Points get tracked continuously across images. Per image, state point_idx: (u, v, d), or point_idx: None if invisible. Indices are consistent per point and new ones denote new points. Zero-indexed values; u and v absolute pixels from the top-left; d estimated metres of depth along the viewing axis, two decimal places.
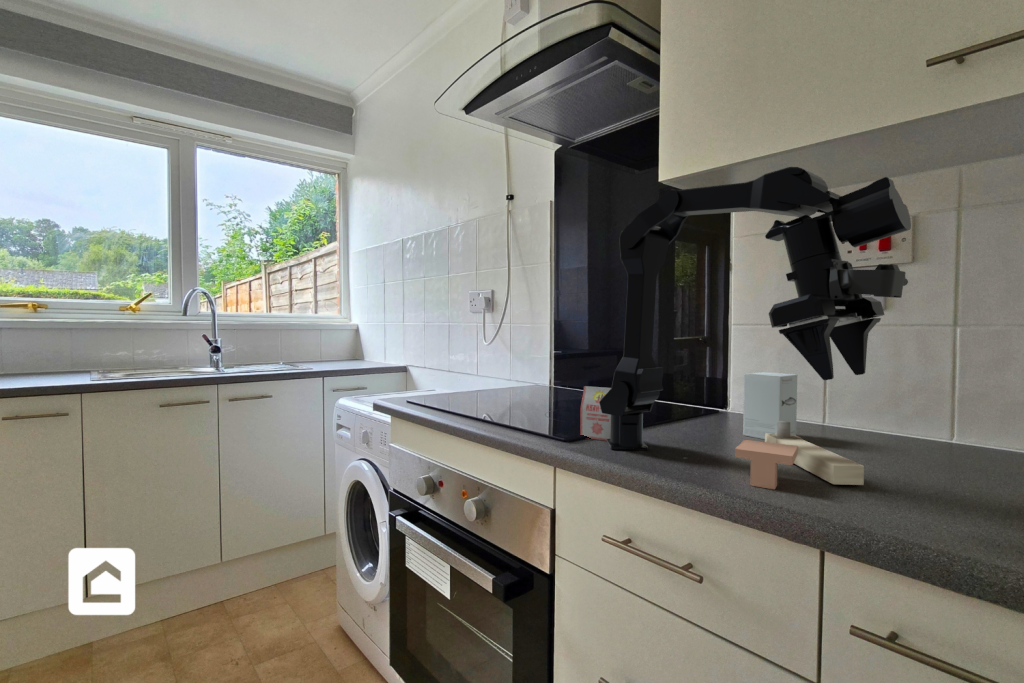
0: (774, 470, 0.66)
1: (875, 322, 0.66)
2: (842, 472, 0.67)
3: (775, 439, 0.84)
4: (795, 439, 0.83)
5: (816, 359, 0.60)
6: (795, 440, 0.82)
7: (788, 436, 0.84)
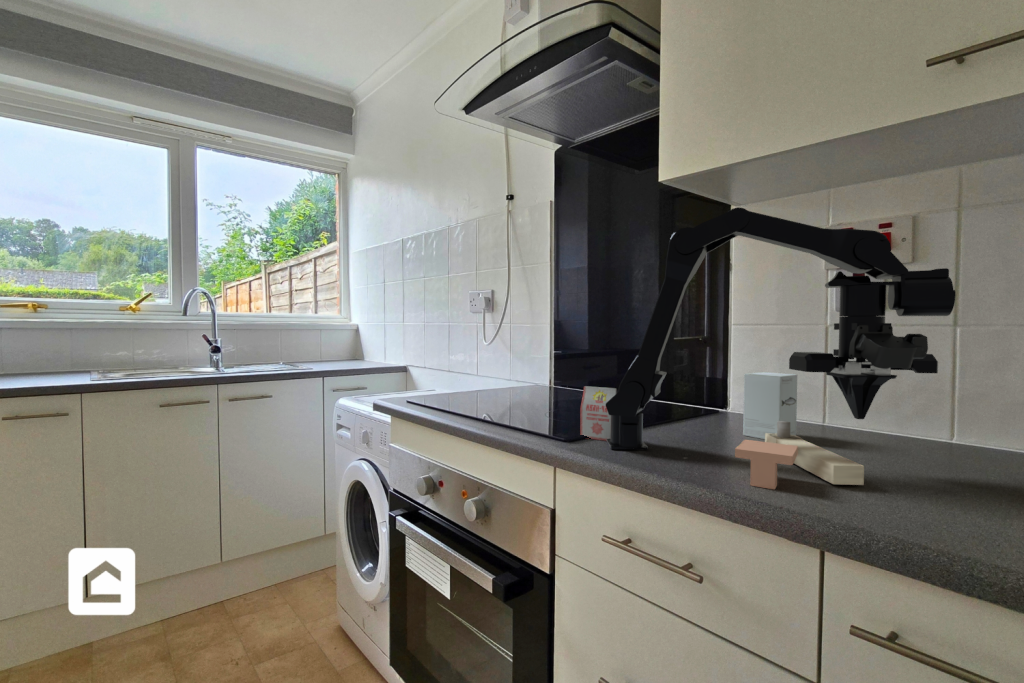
0: (774, 470, 0.66)
1: (886, 378, 0.73)
2: (842, 472, 0.67)
3: (775, 439, 0.84)
4: (795, 439, 0.83)
5: (850, 401, 0.76)
6: (795, 440, 0.82)
7: (788, 436, 0.84)
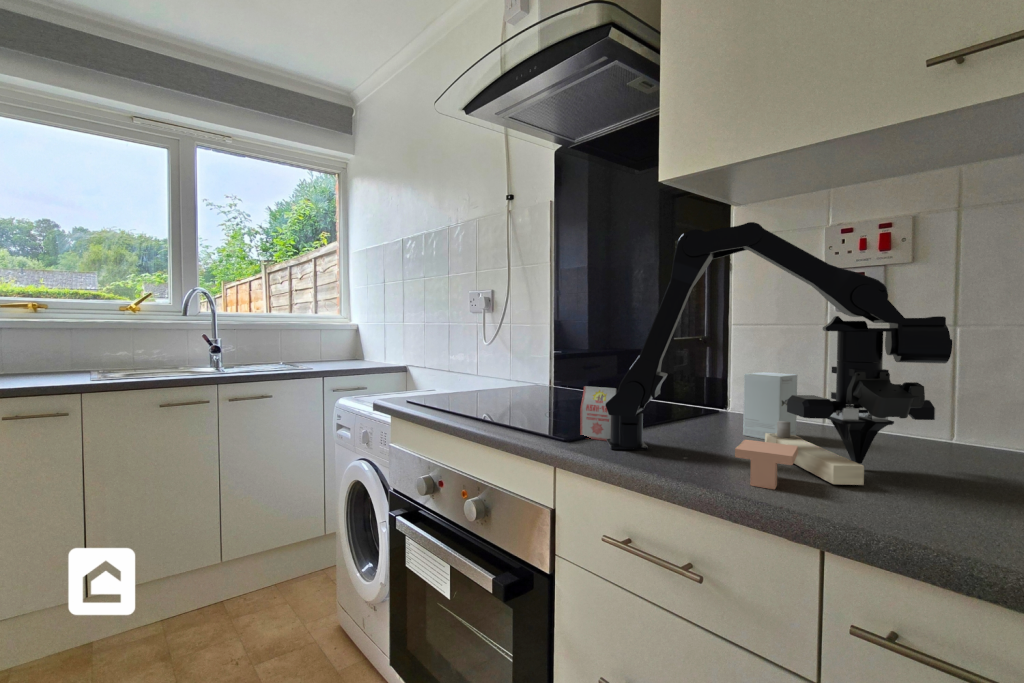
0: (774, 470, 0.66)
1: (883, 424, 0.73)
2: (842, 472, 0.67)
3: (775, 439, 0.84)
4: (795, 439, 0.83)
5: (848, 445, 0.76)
6: (795, 440, 0.82)
7: (788, 436, 0.84)
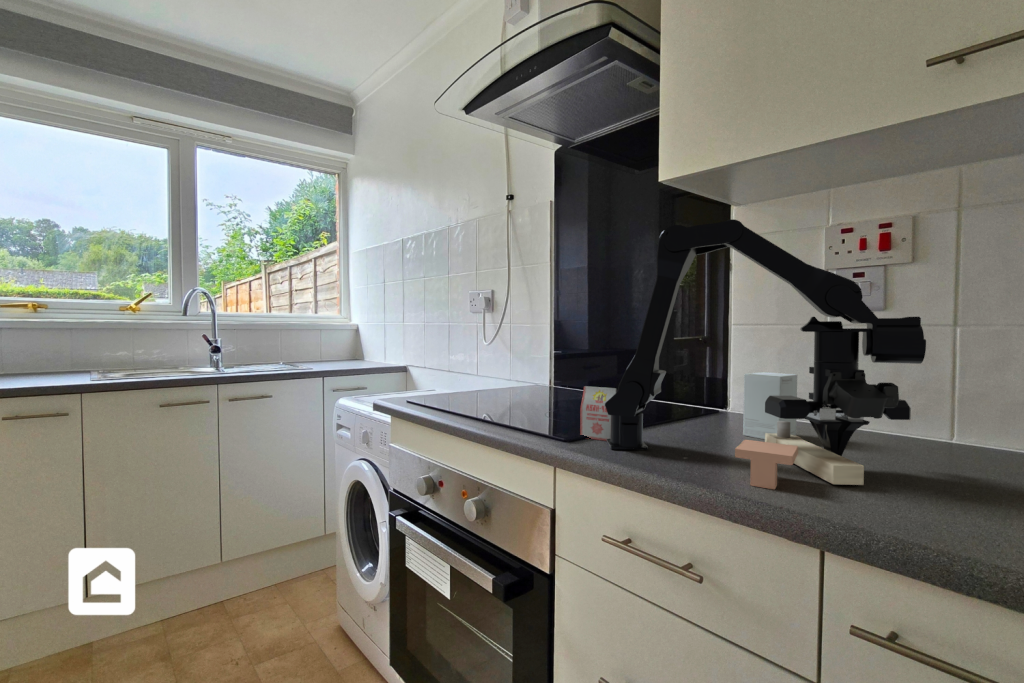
0: (774, 470, 0.66)
1: (858, 425, 0.73)
2: (842, 472, 0.67)
3: (775, 439, 0.84)
4: (795, 439, 0.83)
5: (825, 445, 0.76)
6: (795, 440, 0.82)
7: (788, 436, 0.84)
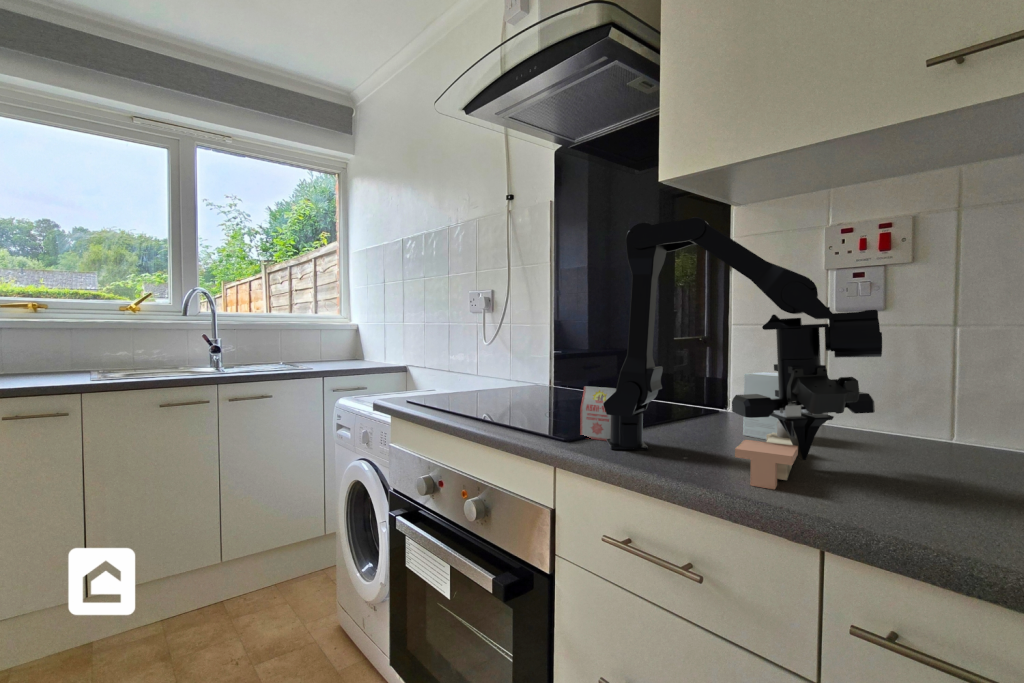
0: (774, 470, 0.66)
1: (823, 420, 0.73)
2: None
3: (768, 437, 0.85)
4: (788, 439, 0.83)
5: (794, 442, 0.77)
6: (785, 440, 0.82)
7: (785, 436, 0.84)
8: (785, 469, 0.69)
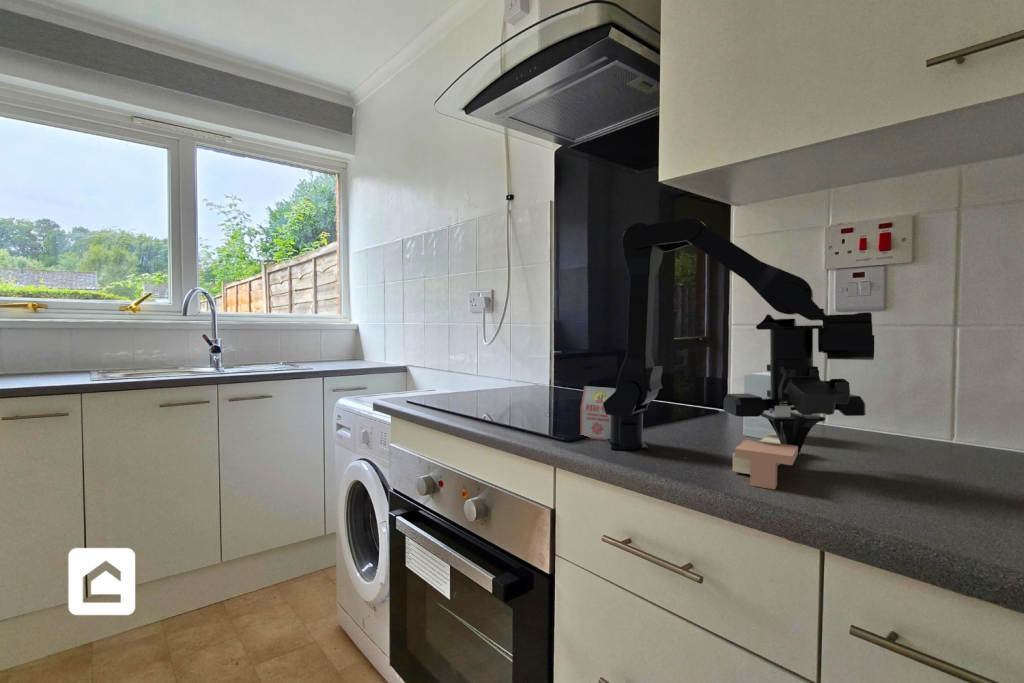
0: (774, 470, 0.66)
1: (814, 421, 0.73)
2: (741, 461, 0.73)
3: None
4: None
5: (783, 442, 0.77)
6: None
7: None
8: None
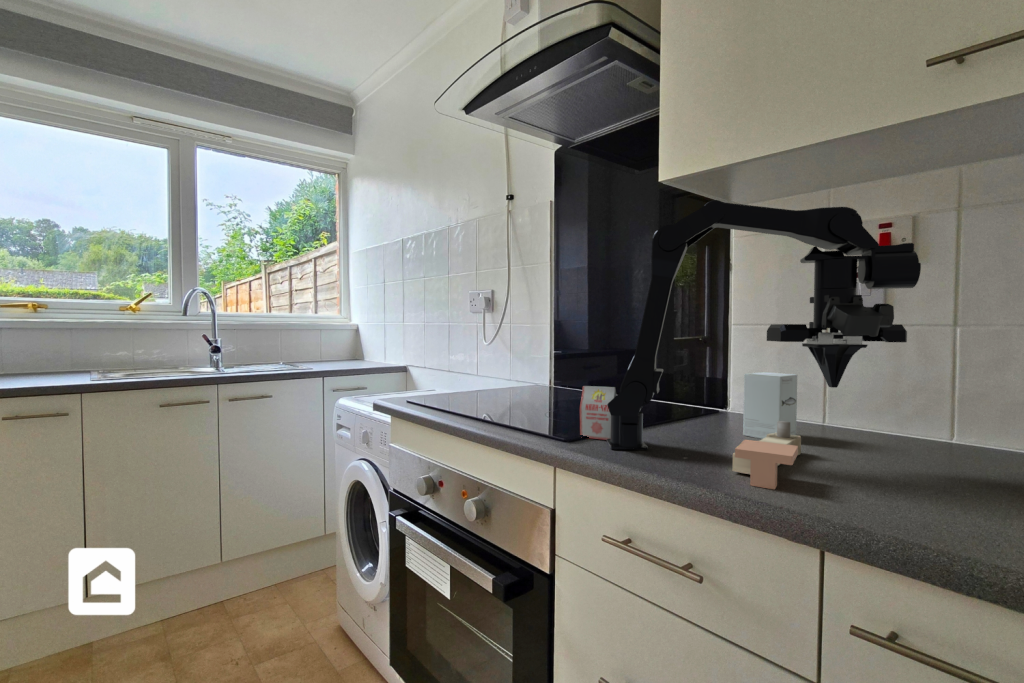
0: (774, 470, 0.66)
1: (857, 347, 0.77)
2: (741, 461, 0.73)
3: None
4: (785, 439, 0.83)
5: (824, 370, 0.80)
6: (781, 439, 0.83)
7: (784, 436, 0.84)
8: None
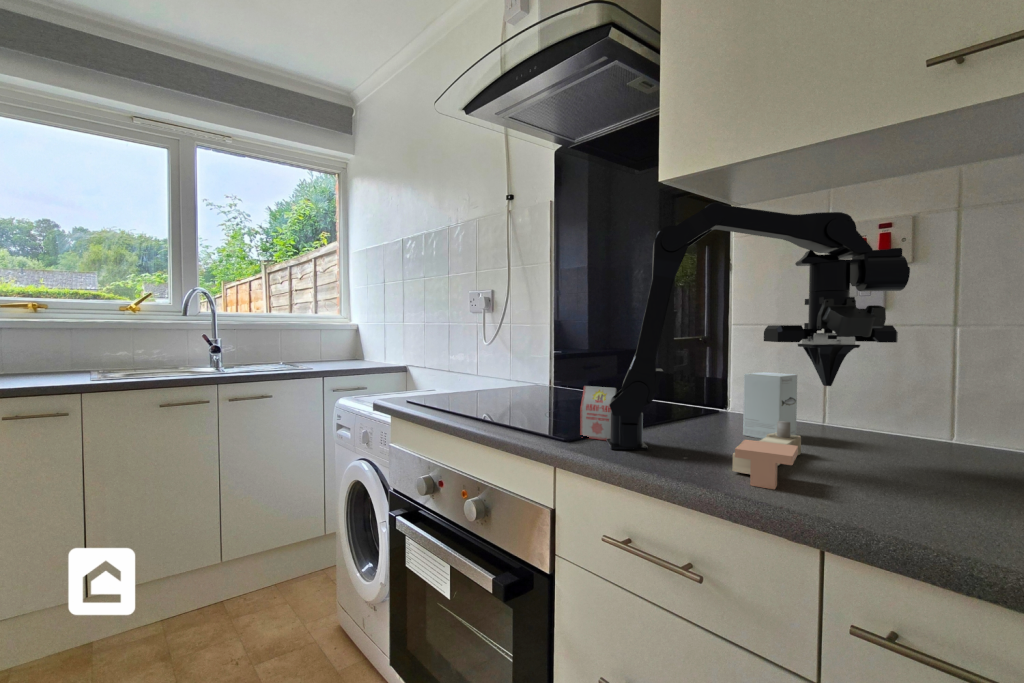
0: (774, 470, 0.66)
1: (850, 348, 0.80)
2: (741, 461, 0.73)
3: None
4: (785, 439, 0.83)
5: (819, 369, 0.83)
6: (781, 439, 0.83)
7: (784, 436, 0.84)
8: None
